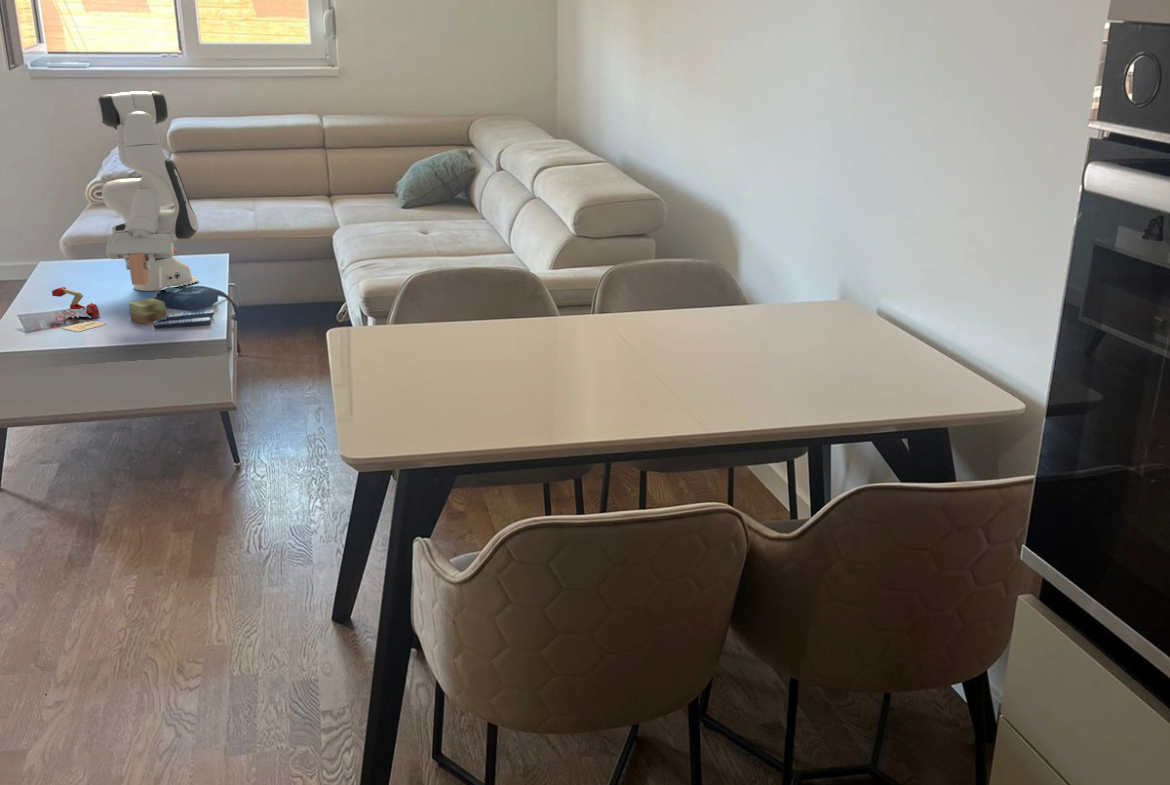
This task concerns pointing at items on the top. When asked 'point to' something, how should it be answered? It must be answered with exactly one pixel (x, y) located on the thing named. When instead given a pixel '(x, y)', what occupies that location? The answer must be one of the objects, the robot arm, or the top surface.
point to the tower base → (147, 318)
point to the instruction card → (83, 326)
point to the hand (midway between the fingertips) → (137, 268)
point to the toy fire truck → (91, 308)
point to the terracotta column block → (138, 269)
